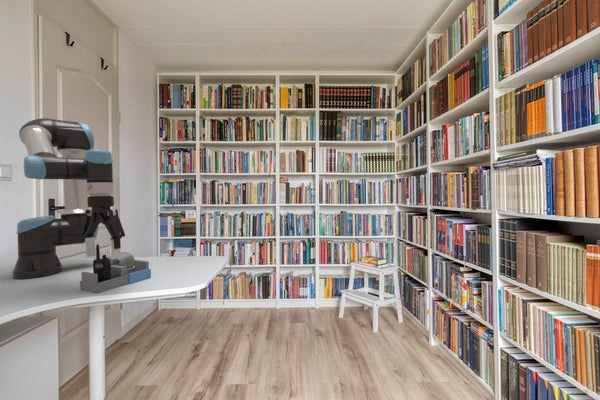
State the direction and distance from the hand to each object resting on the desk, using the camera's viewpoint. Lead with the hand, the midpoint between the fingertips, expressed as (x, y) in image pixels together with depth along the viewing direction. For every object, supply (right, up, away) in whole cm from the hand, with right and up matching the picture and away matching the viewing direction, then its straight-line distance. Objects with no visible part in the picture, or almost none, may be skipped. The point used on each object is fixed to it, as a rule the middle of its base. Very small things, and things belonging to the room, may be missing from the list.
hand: (103, 257), depth 103 cm
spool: (-6, -10, +19) cm, 23 cm away
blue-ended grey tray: (+2, -10, +5) cm, 12 cm away
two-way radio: (0, -11, 0) cm, 11 cm away
